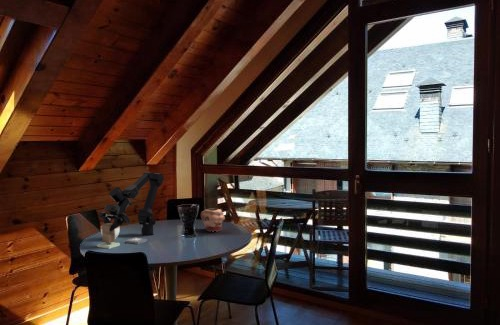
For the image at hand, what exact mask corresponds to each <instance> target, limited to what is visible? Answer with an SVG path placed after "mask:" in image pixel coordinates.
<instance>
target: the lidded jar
mask: <svg viewBox="0 0 500 325" xmlns="http://www.w3.org/2000/svg"><path fill="white" fill-rule="evenodd" d="M120 227H121V225H120V226H119V227H117V228H115V240H116V239H117V237H118V236H119V235H120ZM99 228H100V234H101V235H102V225H100V227H99Z"/></svg>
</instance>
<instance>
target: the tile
mask: <svg viewBox="0 0 500 325" xmlns="http://www.w3.org/2000/svg"><path fill="white" fill-rule="evenodd" d="M145 242H148V239H147V238H142V237H131V238H129V239H126V240H125V243H127V244H136V245H139V244H143V243H145Z"/></svg>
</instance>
